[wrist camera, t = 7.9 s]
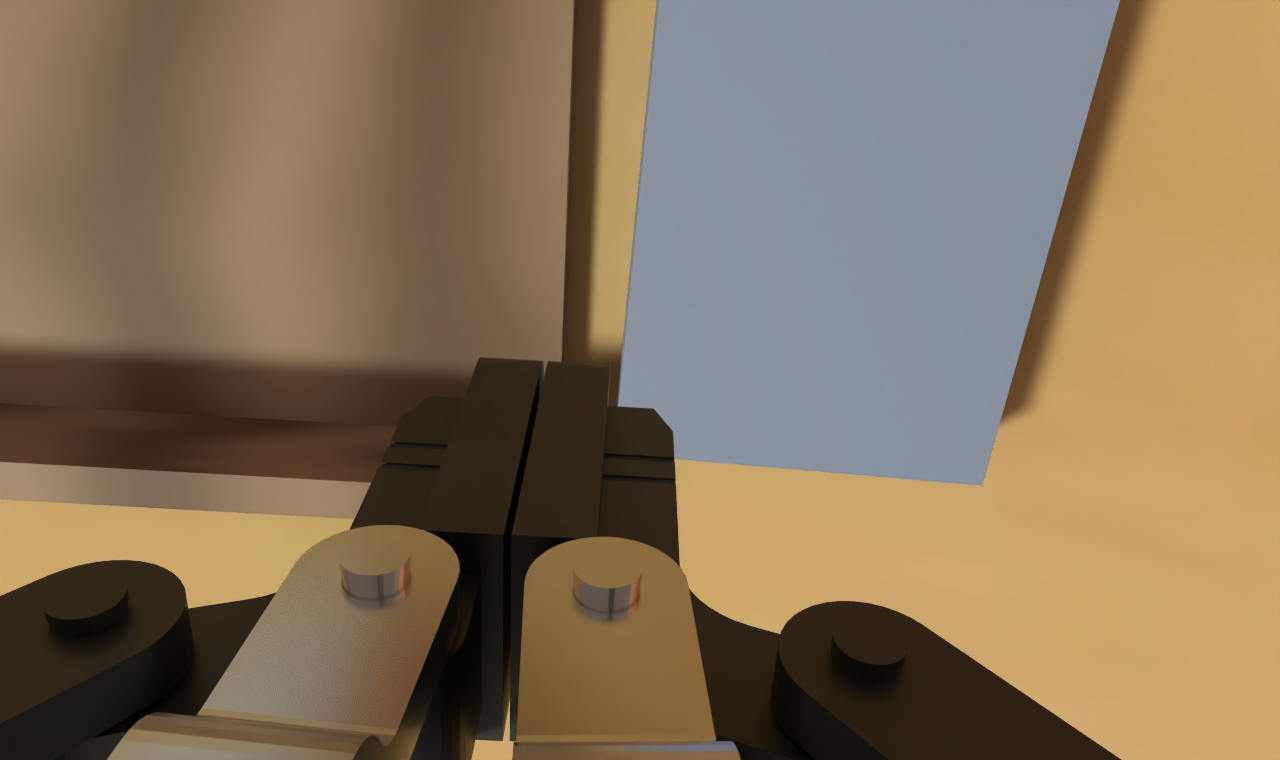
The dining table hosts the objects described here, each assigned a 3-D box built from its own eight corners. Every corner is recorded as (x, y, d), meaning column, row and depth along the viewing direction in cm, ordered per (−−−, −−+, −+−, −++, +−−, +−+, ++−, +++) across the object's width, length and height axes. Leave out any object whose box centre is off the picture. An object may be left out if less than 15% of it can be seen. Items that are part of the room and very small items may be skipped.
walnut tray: (583, -213, 20) (571, -231, 17) (559, 454, 27) (548, 530, 24) (-345, -281, 20) (-532, -312, 17) (-139, 414, 26) (-245, 485, 23)
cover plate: (1082, -53, 22) (1132, -45, 20) (954, 435, 27) (982, 485, 25) (666, -98, 22) (668, -95, 19) (615, 405, 27) (613, 453, 25)
